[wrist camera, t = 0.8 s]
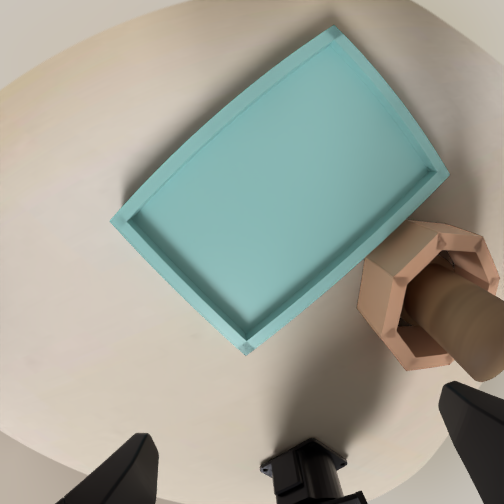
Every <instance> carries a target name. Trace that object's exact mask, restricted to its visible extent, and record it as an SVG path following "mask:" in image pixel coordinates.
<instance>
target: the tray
mask: <svg viewBox="0 0 504 504" xmlns="http://www.w3.org/2000/svg"><path fill="white" fill-rule="evenodd" d="M449 175H450V174H449V172H448V170H447V168H446V167H445V165H444V163H443V162H442V160H441V159H440V157H439V155H438V154H437V152H436V151H435V149H434V147H433V146H432V144H431V143H430V141H429V140H428V138H427V137H426V135H425V134H424V132H423V131H422V129H421V128H420V126H419V125H418V123H417V122H416V121H415V119H414V118H413V116H412V115H411V114H410V112H409V111H408V109H407V108H406V107H405V105H404V104H403V103H402V101H401V100H400V99H399V98H398V96H397V95H396V94H395V92H394V91H393V90H392V89H391V87H390V86H389V85H388V84H387V82H386V81H385V80H384V79H383V77H382V76H381V75H380V74H379V73H378V71H377V70H376V69H375V68H374V67H373V66H372V65H371V63H370V62H369V61H368V60H367V59H366V58H365V57H364V55H363V54H362V53H361V52H360V51H359V50H358V49H357V48H356V47H355V46H354V45H353V44H352V42H351V41H350V40H349V39H348V38H347V37H346V36H345V35H344V34H343V33H342V32H341V31H340V30H339V29H338V28H337V27H336V26H335V25H333V26H331V27H330V28H328V29H327V30H325V31H324V32H322V33H321V34H319V35H318V36H316V37H315V38H313V39H312V40H310V41H309V42H308V43H306V44H305V45H303V46H302V47H300V48H299V49H298V50H296V51H295V52H293V53H292V54H291V55H289V56H288V57H287V58H285V59H284V60H283V61H281V62H280V63H279V64H277V65H276V66H275V67H273V68H272V69H271V70H269V71H268V72H267V73H265V74H264V75H263V76H262V77H260V78H259V79H258V80H257V81H255V82H254V83H253V84H251V85H250V86H249V87H248V88H247V89H245V90H244V91H243V92H242V93H240V94H239V95H238V96H237V97H236V98H234V99H233V100H232V101H231V102H230V103H229V104H227V105H226V106H225V107H224V108H223V109H222V110H220V111H219V112H218V113H217V114H216V115H215V116H213V117H212V118H211V119H210V120H209V121H208V122H207V123H206V124H205V125H203V126H202V127H201V128H200V129H199V130H198V131H197V132H196V133H195V134H194V135H192V136H191V137H190V138H189V139H188V140H187V141H186V142H185V143H184V144H183V145H182V146H181V147H180V148H179V149H178V150H177V151H176V152H175V153H174V154H173V155H171V156H170V157H169V158H168V159H167V160H166V161H165V162H164V163H163V164H162V165H161V166H160V167H159V168H158V169H157V170H156V171H155V172H154V173H153V174H152V176H151V177H150V178H149V179H148V180H147V181H146V182H145V183H144V184H143V185H142V186H141V187H140V188H139V189H138V190H137V191H136V192H135V193H134V194H133V195H132V197H131V198H130V199H129V200H128V201H127V202H126V203H125V204H124V205H123V206H122V208H121V209H120V210H119V211H118V212H117V213H116V214H115V215H114V217H113V218H112V219H111V220H110V222H111V224H112V225H113V226H114V227H115V228H116V229H117V230H118V231H119V232H120V233H121V234H122V236H123V237H124V238H125V239H126V240H127V241H128V242H129V243H130V244H131V245H132V246H133V247H134V248H135V249H136V250H137V252H138V253H139V254H140V255H141V256H142V257H143V258H144V259H145V260H146V261H147V262H148V263H149V264H150V265H151V266H152V267H153V268H154V269H155V270H156V271H157V272H158V273H159V274H160V275H161V276H162V277H163V278H164V279H165V280H166V281H167V282H168V283H169V284H170V285H171V286H172V287H173V288H174V289H175V290H176V291H177V292H178V293H179V294H180V295H181V296H182V297H183V298H184V299H185V300H186V301H187V302H188V303H189V304H190V305H191V306H192V307H193V308H194V309H195V310H196V311H197V312H198V313H199V314H201V315H202V316H203V317H204V318H205V319H206V320H207V321H208V322H209V323H210V324H211V325H212V326H213V327H214V328H215V329H217V330H218V331H219V332H220V333H221V334H222V335H223V336H224V337H225V338H226V339H227V340H229V341H230V342H231V343H232V344H233V345H234V346H235V347H236V348H237V349H239V350H240V351H241V352H242V353H243V354H244V355H245V356H246V355H248V354H249V353H250V352H252V351H253V350H254V349H256V348H257V347H258V346H259V345H261V344H262V343H263V342H265V341H266V340H267V339H268V338H270V337H271V336H272V335H274V334H275V333H276V332H277V331H279V330H280V329H281V328H282V327H284V326H285V325H286V324H287V323H289V322H290V321H291V320H292V319H294V318H295V317H296V316H297V315H298V314H300V313H301V312H302V311H303V310H305V309H306V308H307V307H308V306H309V305H311V304H312V303H313V302H314V301H315V300H317V299H318V298H319V297H320V296H321V295H323V294H324V293H325V292H326V291H327V290H328V289H330V288H331V287H332V286H333V285H334V284H335V283H337V282H338V281H339V280H340V279H341V278H342V277H343V276H345V275H346V274H347V273H348V272H349V271H350V270H351V269H353V268H354V267H355V266H356V265H357V264H358V263H359V262H360V261H362V260H363V259H364V258H365V257H366V256H367V255H368V254H369V253H370V252H371V251H373V250H374V249H375V248H376V247H377V246H378V245H379V244H380V243H381V242H382V241H383V240H385V239H386V238H387V237H388V236H389V235H390V234H391V233H392V232H393V231H394V230H395V229H396V228H397V227H398V226H399V225H400V224H401V223H402V222H404V221H405V220H406V219H407V218H408V217H409V216H410V215H411V214H412V213H413V212H414V211H415V210H416V209H417V208H418V207H419V206H420V205H421V204H422V203H423V202H424V201H425V200H426V199H427V198H428V197H429V196H430V195H431V194H432V193H433V192H434V191H435V190H436V189H437V188H438V187H439V186H440V185H441V184H442V183H443V182H444V181H445V180H446V179H447V177H448V176H449Z"/></svg>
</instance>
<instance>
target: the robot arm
mask: <svg viewBox="0 0 504 504" xmlns="http://www.w3.org/2000/svg"><path fill="white" fill-rule="evenodd" d="M439 411H440V413H441V415H442V418H443V420H444V423H445V425H446V427H447V430H448V432H449V435H450V437H451V440H452V442H453V444H454V446H455V448H456V450H457V452H458V454H459V456H460V458H461V460H462V461H463V463H464V465H465V467H466V469H467V471H468V473H469V475H470V477H471V479H472V481H473V483H474V485H475V487H476V489H477V490H478V493H479V495H480V497H481V499H482V501H483V503H484V504H504V400H503V399H501V398H498V397H495V396H493V395H490V394H488V393H485V392H483V391H480V390H477V389H475V388H472V387H470V386H467V385H465V384H462V383H460V382H457V381H452V382H450V383H447V384H445V385H444V386H443V388H442V392H441V396H440V400H439ZM158 461H159V454H158V450H157V448H156V446H155V444H154V442H153V440H152V437H151V436H150V434H148V433H135V434H134V435H133V436H132V437H131V438H130V439H129V440H127V441H126V442H125V443H124V444H123V445H122V446H121V447H120V448H119V449H118V450H117V451H115V452H114V453H113V454H112V455H111V456H110V457H109V458H108V459H107V460H105V461H104V462H103V463H102V464H101V465H100V466H99V467H98V468H96V469H95V470H94V471H93V472H92V473H91V474H90V475H88V476H87V477H86V478H85V479H84V480H83V481H82V482H80V483H79V484H78V485H77V486H76V487H75V488H73V489H72V490H71V491H70V492H69V493H68V494H66V495H65V496H64V498H62V499H60V500H59V501H58V502H57V503H55V504H155V502H156V494H157V477H158ZM346 465H347V460H346V459H345V458H343V457H341V456H340V455H338V454H337V453H335V452H334V451H332V450H331V449H329V448H328V447H326V446H325V445H323V444H322V443H320V442H319V441H318V440H316V439H314V438H311V439H308V440H306V441H305V442H303V443H301V444H299V445H298V446H296V447H294V448H293V449H291V450H289V451H287V452H285V453H284V454H282V455H280V456H278V457H276V458H275V459H273V460H271V461H269V462H267V463H265V464H263V465H261V466H260V471H261V472H262V473H264V474H266V475H268V476H269V477H271V478H273V486H274V494H275V495H276V501H277V504H367V501H366V499H365V497H364V495H363V493H362V491H358V492H355V494H351V495H347V496H344V495H343V492H342V489H341V485H340V482H339V478H338V475H337V470H339V469H341V468H343V467H344V466H346Z"/></svg>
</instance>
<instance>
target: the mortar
mask: <svg viewBox="0 0 504 504" xmlns="http://www.w3.org/2000/svg"><path fill="white" fill-rule="evenodd" d="M441 250H447V251H448V253H449V255H450V257H451V259H452V261H453V262H454V264H455V266H454V270H455V273H457V274H459V275H460V276H462V277H464V278H466V279H467V280H469V281H471V282H473V283H474V284H476V285H478V286H479V287H481V288H483V289H485V290H486V291H488V292H490V293H491V294H493V295H496V291H497V287H498V283H499V279H500V277H499V275H498V272H497V269H496V267H495V264H494V262H493V259H492V257H491V254H490V252H489V250H488V247H487V245H486V243H485V240H484V238H483V236H480V235H478V234H475V233H472V232H469V231H466V230H463V229H460V228H457V227H454V226H451V225H448V224H442V223H433V222H424V221H414V220H405V221H404V222H402V223H401V224H400V225H399V226H398V227H397V228H396V229H395V230H394V231H393V232H392V233H391V234H390V235H389V236H388V237H387V238H386V239H385V240H383V241H382V242H381V243H380V244H379V245H378V246H377V247H376V248H375V249H374V250H373V251H371V252H370V253H369V254H368V255H367V256H366V257H365V260H364V267H363V273H362V280H361V286H360V292H359V298H358V304H357V309H358V311H359V312H360V313H361V314H362V316H363V317H364V318H365V320H366V321H367V322H368V323H369V325H370V326H371V327H372V329H373V330H374V331H375V332H376V334H377V335H378V336H379V338H380V339H382V341H383V342H384V343H385V344H386V346H387V347H388V348H389V349H390V351H391V352H392V353H393V354H394V356H395V357H396V358H397V360H398V361H399V362H400V364H401V365H402V366H403V368H404V369H405V370H406V371H410V370H418V369H425V368H432V367H438V366H444V365H450V364H451V363H452V362H453V361H454V359H453V358H452V357H451V356H450V355H449V354H448V353H447V352H446V351H445V350H444V349H443V348H442V347H441V346H440V345H439V344H438V343H437V342H436V341H435V340H434V339H433V338H432V337H431V336H430V335H429V334H428V333H427V332H426V331H425V330H424V329H423V328H422V327H421V326H406V327H398V323H399V318H400V314H401V310H402V305H403V301H404V296H405V291H406V286H407V284H408V283H409V282H410V281H411V280H412V279H413V278H414V277H415V276H416V275H417V274H418V273H419V272H420V271H421V270H422V269H424V268H425V267H426V266H427V265H428V264H429V263H430V262H431V261H432V260H433V259H434V258H435V257H436V256H437V254H438V253H439V252H440V251H441Z"/></svg>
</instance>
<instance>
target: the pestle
mask: <svg viewBox="0 0 504 504" xmlns="http://www.w3.org/2000/svg"><path fill="white" fill-rule="evenodd" d="M400 317H401V318H402V319H403V320H404V321H405V322H407V323H408V324H410V325H413V326H421V327H422V328H423V329H424V330H425V331H426V332H427V333H428V334H429V335H430V336H431V337H432V338H433V339H434V340H435V341H436V342H437V343H438V344H439V345H440V346H441V347H442V348H443V349H444V350H445V351H446V352H447V353H448V354H449V355H450V356H451V357H452V358H453V359H454V360H455V361H456V362H457V363H458V364H459V365H460V366H461V367H462V368H463V369H464V370H465V371H466V372H467V373H468V374H469V375H470V376H471V377H472V378H473V379H474V380H475V381H478V382H484V381H487V380H490V379H492V378H494V377H496V376H497V375H498V374H499V373H501V372H502V371H503V370H504V301H503V300H501V299H500V298H498V297H496V296H495V295H493V294H491V293H490V292H488V291H486V290H485V289H483V288H481V287H479V286H478V285H476V284H474V283H473V282H471V281H469V280H467V279H466V278H464V277H462V276H460V275H459V274H457V273H455V270H454V268H453V266H452V265H451V263H450V262H449V261H448V260H446V259H445V258H443V257H441V256H439V255H437V256H436V257H435V258H434V259H433V260H432V261H431V262H430V263H429V264H428V265H427V266H426V267H425V268H424V269H422V270H421V271H420V272H419V273H418V274H417V275H416V276H415V277H414V278H413V279H412V280H411V281H410V282H409V283H408V284H407V286H406V291H405V296H404V301H403V305H402V310H401V314H400Z"/></svg>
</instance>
